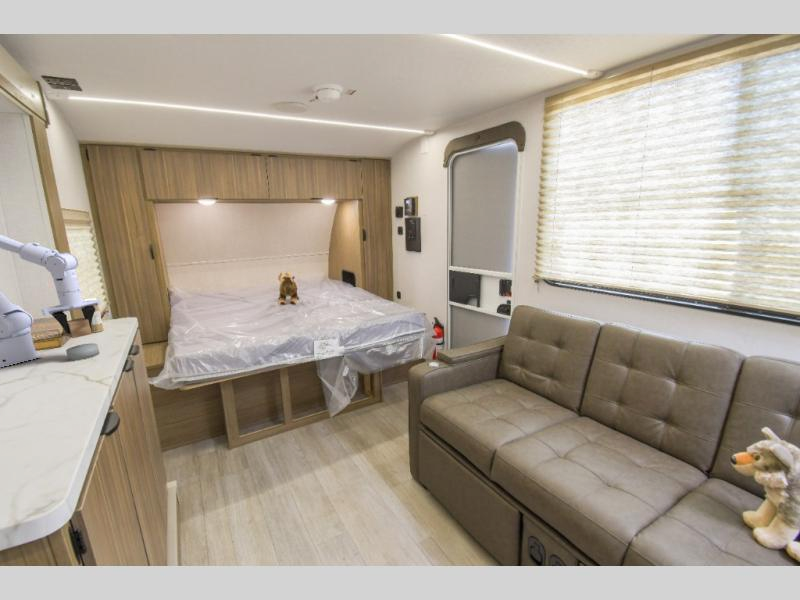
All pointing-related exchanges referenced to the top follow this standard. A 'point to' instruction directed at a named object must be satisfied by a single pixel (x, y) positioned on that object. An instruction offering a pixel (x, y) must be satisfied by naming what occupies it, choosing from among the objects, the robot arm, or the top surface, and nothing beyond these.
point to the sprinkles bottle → (96, 319)
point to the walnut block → (79, 327)
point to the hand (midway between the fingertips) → (78, 330)
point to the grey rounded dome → (82, 351)
